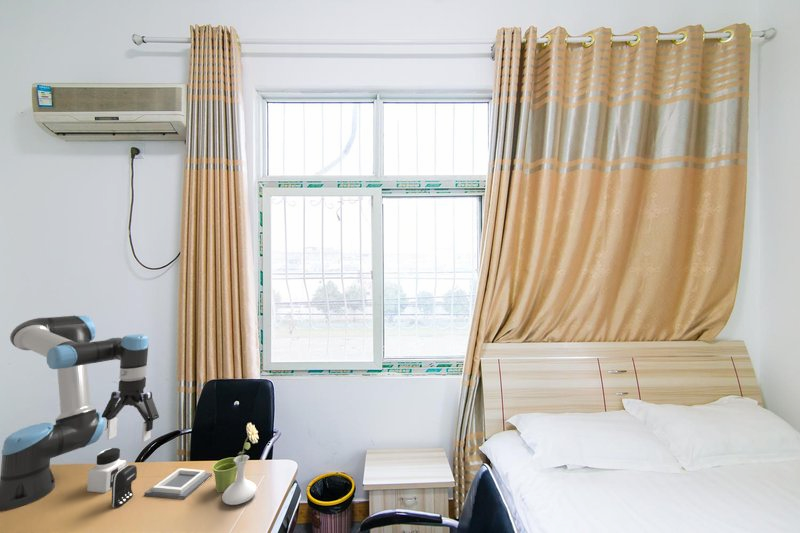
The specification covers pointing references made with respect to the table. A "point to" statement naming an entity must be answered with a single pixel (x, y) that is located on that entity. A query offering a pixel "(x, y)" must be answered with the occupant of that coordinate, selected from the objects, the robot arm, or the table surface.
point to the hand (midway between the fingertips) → (128, 438)
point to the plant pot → (224, 473)
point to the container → (104, 470)
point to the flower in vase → (242, 475)
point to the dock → (179, 483)
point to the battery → (123, 485)
